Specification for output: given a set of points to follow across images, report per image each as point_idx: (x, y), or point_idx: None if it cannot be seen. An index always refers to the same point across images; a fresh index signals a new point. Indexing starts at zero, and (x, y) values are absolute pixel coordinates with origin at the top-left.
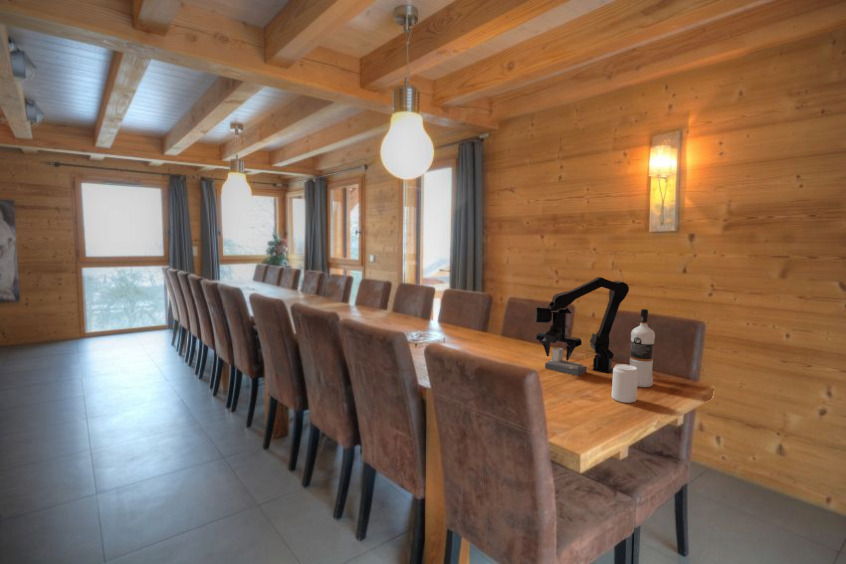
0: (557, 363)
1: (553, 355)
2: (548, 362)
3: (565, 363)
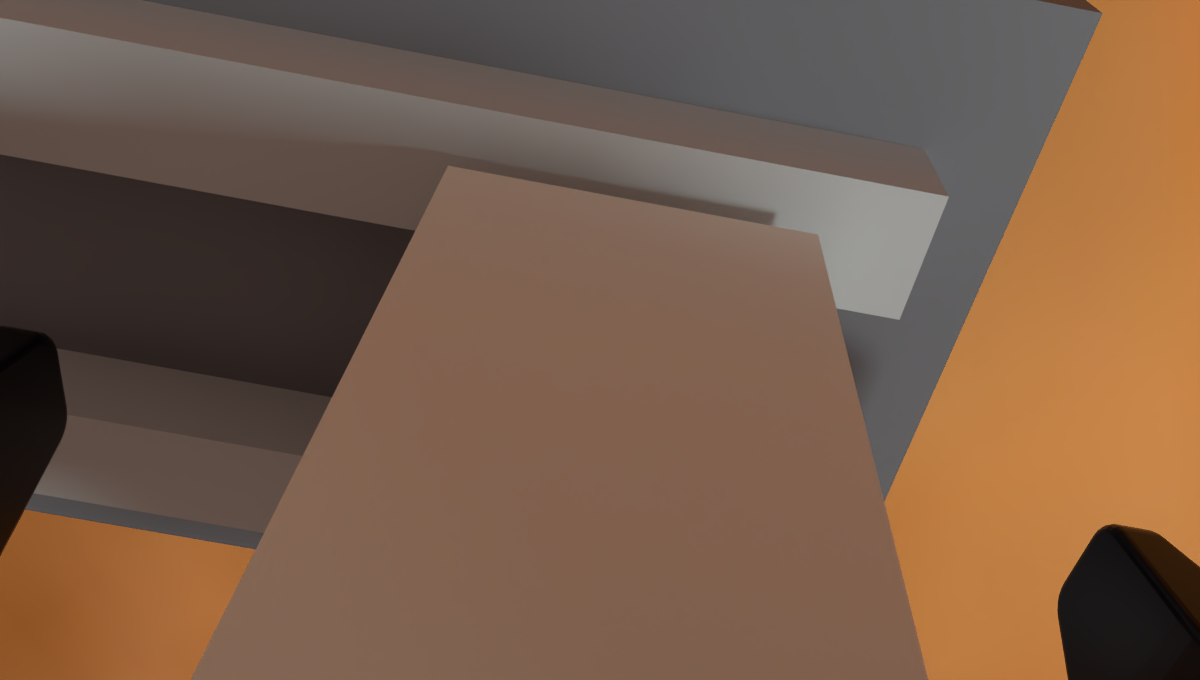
0: (472, 89)
1: (739, 383)
2: (955, 188)
3: (81, 154)
